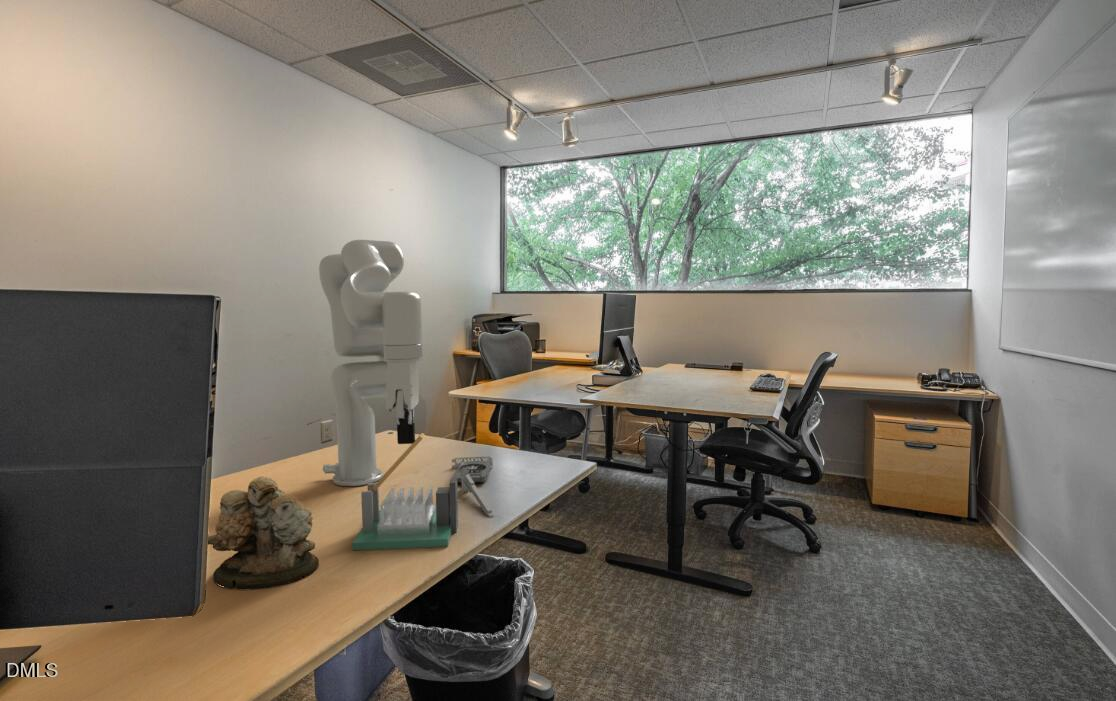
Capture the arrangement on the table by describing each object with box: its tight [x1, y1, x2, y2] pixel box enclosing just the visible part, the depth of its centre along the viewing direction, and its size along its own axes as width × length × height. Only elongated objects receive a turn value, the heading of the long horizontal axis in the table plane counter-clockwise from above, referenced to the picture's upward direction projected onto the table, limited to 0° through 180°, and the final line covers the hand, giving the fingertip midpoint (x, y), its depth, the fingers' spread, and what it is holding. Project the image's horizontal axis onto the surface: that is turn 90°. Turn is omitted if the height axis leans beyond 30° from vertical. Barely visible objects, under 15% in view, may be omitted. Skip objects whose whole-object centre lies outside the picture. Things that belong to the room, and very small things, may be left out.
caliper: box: [461, 467, 495, 518], centre depth 126 cm, size 20×1×6 cm, turn 28°
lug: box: [435, 476, 459, 534], centre depth 110 cm, size 4×4×10 cm
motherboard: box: [351, 482, 452, 551], centre depth 109 cm, size 18×16×10 cm
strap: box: [369, 432, 426, 494], centre depth 109 cm, size 17×3×1 cm
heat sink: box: [377, 486, 436, 535], centre depth 110 cm, size 10×10×6 cm
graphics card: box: [451, 456, 494, 483], centre depth 145 cm, size 17×4×12 cm
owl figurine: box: [208, 476, 320, 590], centre depth 92 cm, size 18×12×17 cm, turn 99°
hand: (406, 442), depth 108 cm, fingers closed
